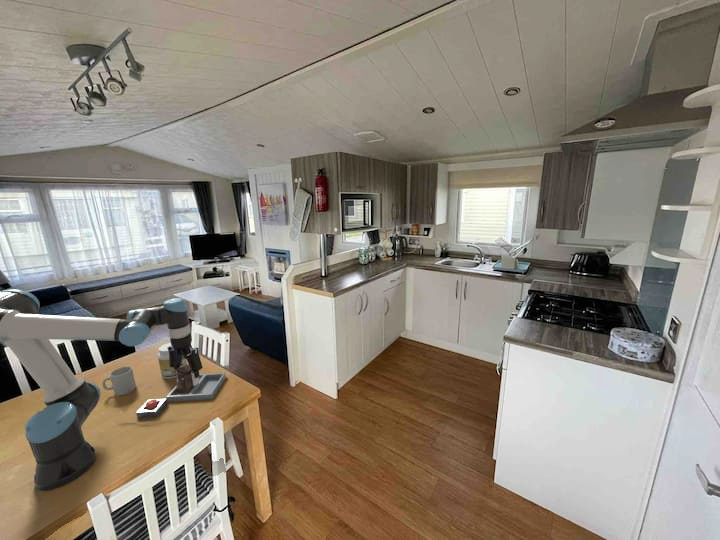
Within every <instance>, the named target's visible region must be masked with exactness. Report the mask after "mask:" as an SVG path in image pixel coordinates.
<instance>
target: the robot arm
mask: <svg viewBox="0 0 720 540" xmlns="http://www.w3.org/2000/svg"><path fill="white" fill-rule="evenodd" d="M40 304H41V303H40V301H39V299H38V298H37V297H36V295H34V294H32V293H31V292H28V291H26V290H22V289H16V288H15V289H13V288H11V289H4V290H0V343H2V342H3V343H4V342H5V344H6V345H7V347H8V348H9V349H10V351H11V352H12V353H13V354H14V355H15V357H16V358H17V359H18V360H19V362H20V363H21V364H22V365H23V367H24V368H25V370H26V371H27V372H28V374H29V375H30V376H31V378H32V379H33V380H34V381H35V382H36V383H37V385H38V386H39V387H40V389H41V390H42V392H44V394H45V395H44V397H43V399H42V403H44V404H45V406H46V407H44V408H42V410H39V411H36V412H35V414H33V415H32V416H31V417H30V418H29V419H28V420H27V422H26V424H25V427H24V430H25V438H26V440H27V441H28V444H29V446H30V449H31V451H32V455H33V456H34V460H35V463H36V465H35V466H36V467H35V474H34V476H33V483H34V486H35V488H36V489H37V490H39V491H51V490H55V489H57V488H61V487H62V486H65V485H67V484H69V483H71V482H73V481H74V480H76V479H78V478H79V477H80V476H82V475H83V474H84V473H86V472H87V471H88V470H89V469H90V468H91V467H92V466H93V465H94V463H95V462H96V460H97V452H96V449H95V447H93V446H92V445H91V444H90V443H89V442H88V441H87V440H86V439H85V437H84V433H83V430H82V427H83V425H84V423H85V421H87V419H88V417H90V414H91V413H92V412H93V410H95V408H96V407H97V405H98V403H99V400H100V398H101V389H100V387H99V386H98V385H97V384H95V383H94V382H90V381H88V380H85V378H82V377H76V375H75V374H74V373H73V371H72V370H71V368H70V366H68V364H67V363H66V361H65V360H64V359H63V357H62V355H60V353H59V352H58V350H57V349H56V348H55V346H54V345H53V343H52V342H51V340H64V341H65V340H66V341H67V340H69V341H107V342H109V341H112V342H120V343H121V344H122V345H124V346H127V347H137V346H138V345H141V344H143V343H144V342H145V340H146V339H148V337H149V335H150V334H151V331H152V330H153V329H154V328H155V327H158V326H163V325H167V331H168V336H169V340H170V342H169V343H171V346H169V347H168V351H169V361H170V367H173V368H174V369H175V373H176V375H177V372H176V370H177V369H179V368H181V367H182V366H181V360H182V356H184V358H185V359H186V361H187V364H189V365H190V367H191V369H192V372H191V375H192V380H193V386H195V385H197V384H198V383H199V382H200V380H199V376H200V375H199V374H200V371H201V370H202V369H203V364H202V361H201V358H200V357H201V356H200V353H199V347H195V348H194V347H193V345H192V341H193V338H192V333H191V327H190V320H189V315H188V308H187V304H186V301H185V299H183V298H171V299H168V300H165V301H164V302H163V305H161V306H153V307H147V308H145V307H144V308H138V309H134V310H133V309H132V310H129V311H128V312H127V315H126V319H125V318H123V319H122V318H106V317H93V316H92V317H90V316H75V315H74V316H72V315H71V316H70V315H55V314H54V315H53V314H52V315H51V314H39V313H38V312H39V309H40V306H41V305H40ZM173 362H174V363H173ZM180 366H181V367H180ZM176 378H177V379H176V380H178V377H176Z"/></svg>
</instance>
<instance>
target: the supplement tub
mask: <svg viewBox="0 0 720 540" xmlns="http://www.w3.org/2000/svg"><path fill="white" fill-rule="evenodd" d="M169 346H171V342H168V343H165V344H162V345H161V346H159V347H158V354H157V360H158V364H159V369H160V374H161V377H162V378H163V379H167V380H169V379H175V378H177V375H176V373H175V369H174V368H173V367H170V361H169V351H168V347H169ZM173 363H174V362H173ZM187 364H188V361H187V359H185V358H184V356H182V360H181V366H182V367H183V366H185V365H187ZM181 366H180V367H181Z"/></svg>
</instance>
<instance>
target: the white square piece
mask: <svg viewBox="0 0 720 540" xmlns="http://www.w3.org/2000/svg"><path fill="white" fill-rule="evenodd" d="M154 399H155V398H154ZM154 399H152V398H151V399H148V400H146V402H144V403H143V405H141V407H140V408H139V409H138V410H137V411H136V413H135V414H136V418H137V419H141V418H142V419H143V418H157V417H158V416H159V415H160V414H161V412H162V411H163V410H164V409H165V408H166V407H167V405H168V402H167V399H166V398H156V399H155V400H157V404H158V405H157V406H156V407H155V409H147V408H146V403H147V402H148V401H150V400H154Z"/></svg>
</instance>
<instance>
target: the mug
mask: <svg viewBox="0 0 720 540" xmlns="http://www.w3.org/2000/svg"><path fill="white" fill-rule="evenodd" d="M134 375H135V374H134V372H133V367H132V366H122V367H119V368H116V369H114V370H112V371H111V372H110V374H109V376H107V377H105V378H103V380H102V383H101V384H102V388H103V389H104V391H105V390H106V391H110V390H111V391H112V390H113V393H114V395H115V396H117V397H119V396H125V395H127V394H130V393H132V392H134V391H135V390H136V389H137V384H136V380H135V376H134ZM107 381H111V386H107V385H106V382H107Z"/></svg>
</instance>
